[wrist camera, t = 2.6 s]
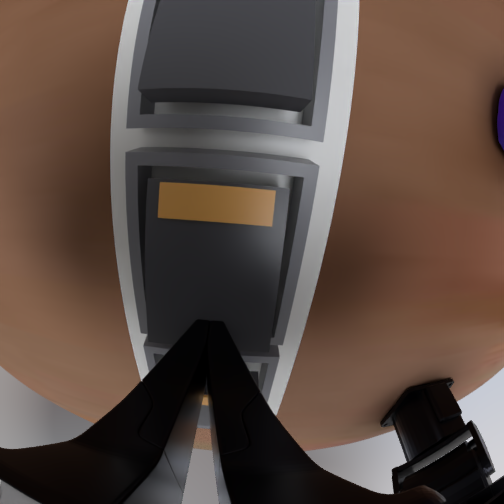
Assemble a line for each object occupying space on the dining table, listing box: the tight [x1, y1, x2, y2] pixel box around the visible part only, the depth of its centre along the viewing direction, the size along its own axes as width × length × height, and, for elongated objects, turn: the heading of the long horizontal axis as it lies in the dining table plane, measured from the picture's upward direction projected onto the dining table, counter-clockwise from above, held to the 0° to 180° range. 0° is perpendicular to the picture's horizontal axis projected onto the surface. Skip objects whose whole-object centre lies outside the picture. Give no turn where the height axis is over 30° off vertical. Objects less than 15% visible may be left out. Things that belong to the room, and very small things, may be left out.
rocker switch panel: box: [110, 0, 359, 429], centre depth 11 cm, size 23×8×4 cm, turn 174°
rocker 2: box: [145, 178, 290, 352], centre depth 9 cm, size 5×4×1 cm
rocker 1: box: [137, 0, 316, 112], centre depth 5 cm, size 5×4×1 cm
